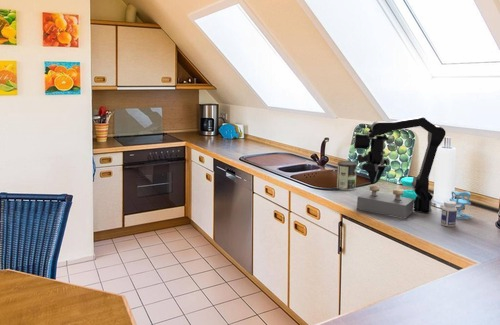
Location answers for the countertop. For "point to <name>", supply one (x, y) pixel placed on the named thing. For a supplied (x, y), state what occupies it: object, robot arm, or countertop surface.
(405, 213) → the housing
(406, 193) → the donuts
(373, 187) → the far cap
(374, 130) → the robot arm
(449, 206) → the pill bottle
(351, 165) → the coffee can
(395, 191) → the near cap
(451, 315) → the countertop surface
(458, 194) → the chair
